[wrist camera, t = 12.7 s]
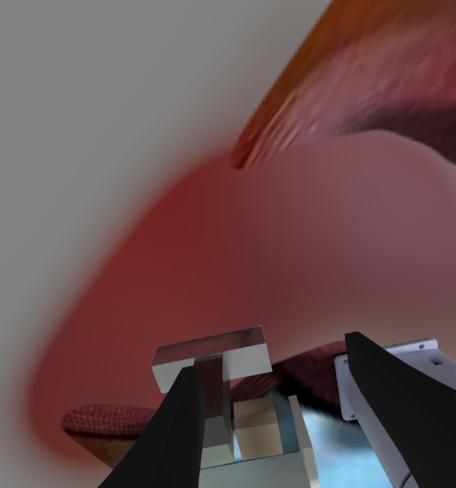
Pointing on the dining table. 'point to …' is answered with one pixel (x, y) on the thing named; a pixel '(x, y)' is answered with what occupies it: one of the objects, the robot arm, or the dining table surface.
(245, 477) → the corral
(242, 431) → the chip
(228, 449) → the pale green block
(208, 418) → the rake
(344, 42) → the dining table surface
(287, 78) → the dining table surface
